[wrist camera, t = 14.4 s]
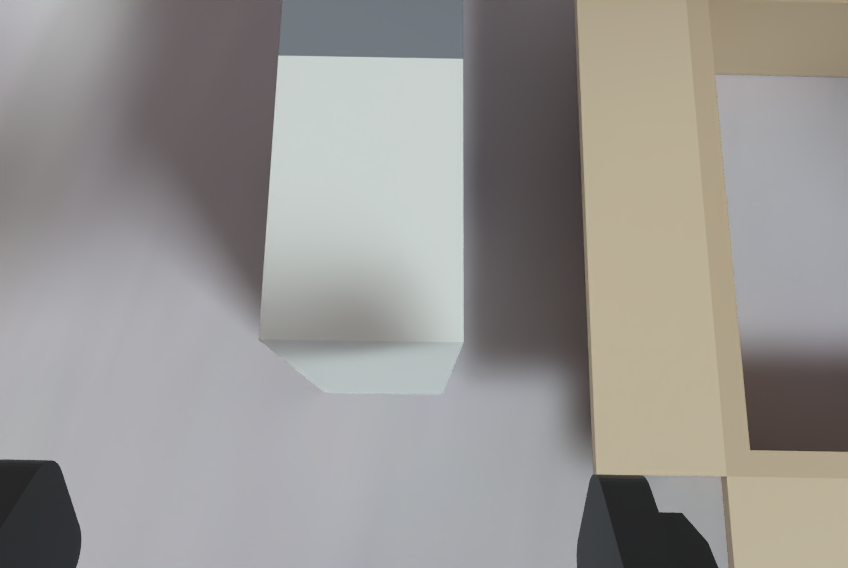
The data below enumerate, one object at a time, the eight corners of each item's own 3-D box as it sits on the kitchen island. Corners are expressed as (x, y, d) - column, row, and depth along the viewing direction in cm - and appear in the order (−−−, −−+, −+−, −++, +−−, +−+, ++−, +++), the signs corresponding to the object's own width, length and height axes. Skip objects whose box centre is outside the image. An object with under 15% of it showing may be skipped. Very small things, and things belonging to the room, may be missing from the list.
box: (443, 131, 30) (462, -80, 18) (442, 394, 27) (463, 342, 16) (336, 129, 30) (287, -83, 18) (324, 392, 27) (258, 339, 16)
